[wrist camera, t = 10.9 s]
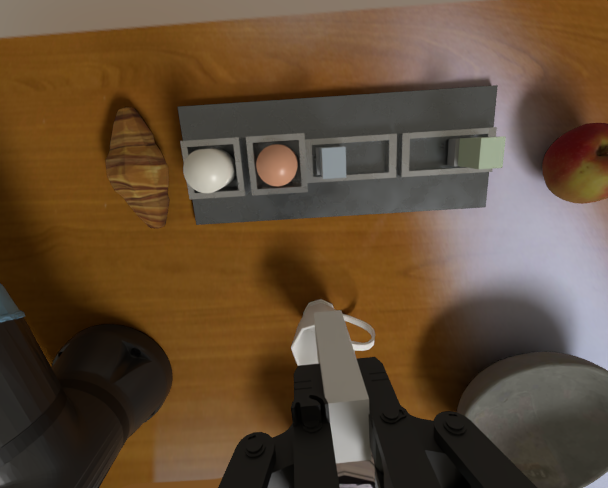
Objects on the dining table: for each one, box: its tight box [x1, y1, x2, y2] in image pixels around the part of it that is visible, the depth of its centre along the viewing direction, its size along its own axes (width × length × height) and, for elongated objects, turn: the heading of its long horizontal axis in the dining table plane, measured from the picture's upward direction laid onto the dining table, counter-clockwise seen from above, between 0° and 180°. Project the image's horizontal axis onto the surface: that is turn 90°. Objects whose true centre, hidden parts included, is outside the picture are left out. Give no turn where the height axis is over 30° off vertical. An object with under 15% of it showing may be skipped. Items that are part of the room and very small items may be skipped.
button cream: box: [183, 148, 236, 193], centre depth 33 cm, size 4×4×4 cm
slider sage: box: [447, 137, 506, 169], centre depth 34 cm, size 3×3×6 cm
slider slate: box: [315, 146, 346, 179], centre depth 34 cm, size 3×3×6 cm
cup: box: [291, 299, 375, 366], centre depth 40 cm, size 7×10×8 cm
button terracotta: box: [256, 144, 298, 186], centre depth 35 cm, size 4×4×4 cm
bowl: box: [457, 352, 608, 488], centre depth 44 cm, size 21×21×8 cm
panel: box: [178, 85, 498, 225], centre depth 36 cm, size 34×13×5 cm, turn 94°
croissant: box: [106, 107, 169, 228], centre depth 36 cm, size 14×7×5 cm, turn 8°
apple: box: [542, 123, 608, 203], centre depth 35 cm, size 8×8×8 cm
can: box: [336, 452, 375, 488], centre depth 44 cm, size 11×11×12 cm
